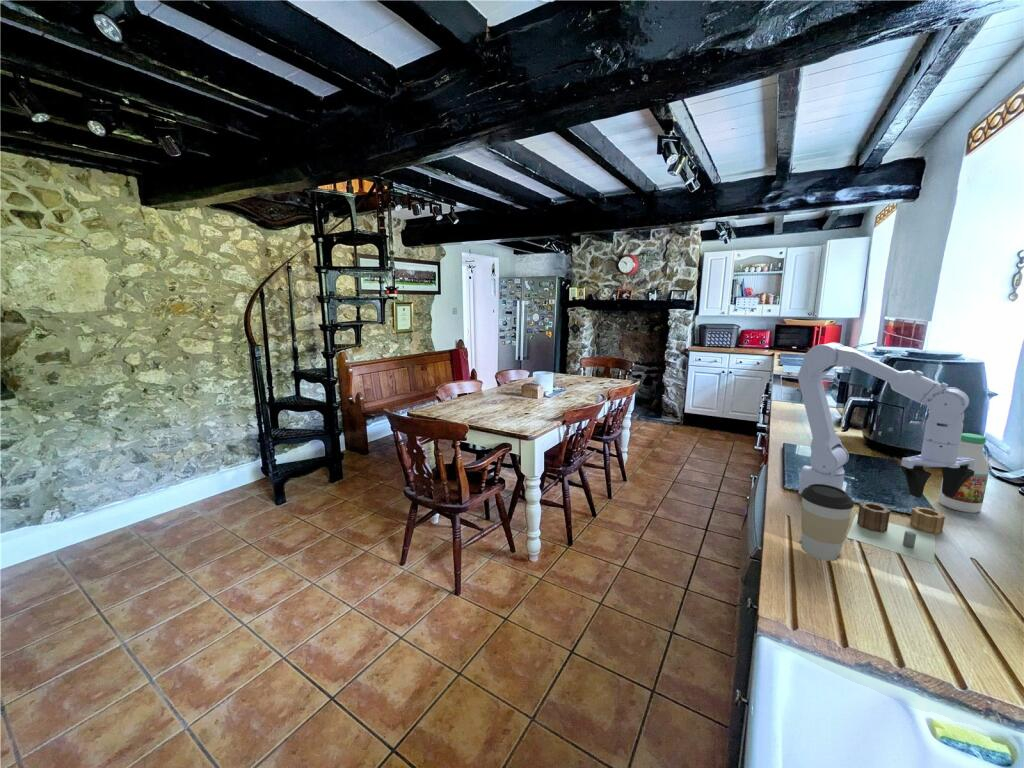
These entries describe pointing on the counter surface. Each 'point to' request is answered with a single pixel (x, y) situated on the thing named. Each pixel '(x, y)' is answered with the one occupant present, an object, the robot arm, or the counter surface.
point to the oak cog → (927, 519)
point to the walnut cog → (873, 517)
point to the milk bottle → (975, 486)
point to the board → (897, 540)
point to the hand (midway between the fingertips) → (931, 495)
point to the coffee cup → (824, 520)
